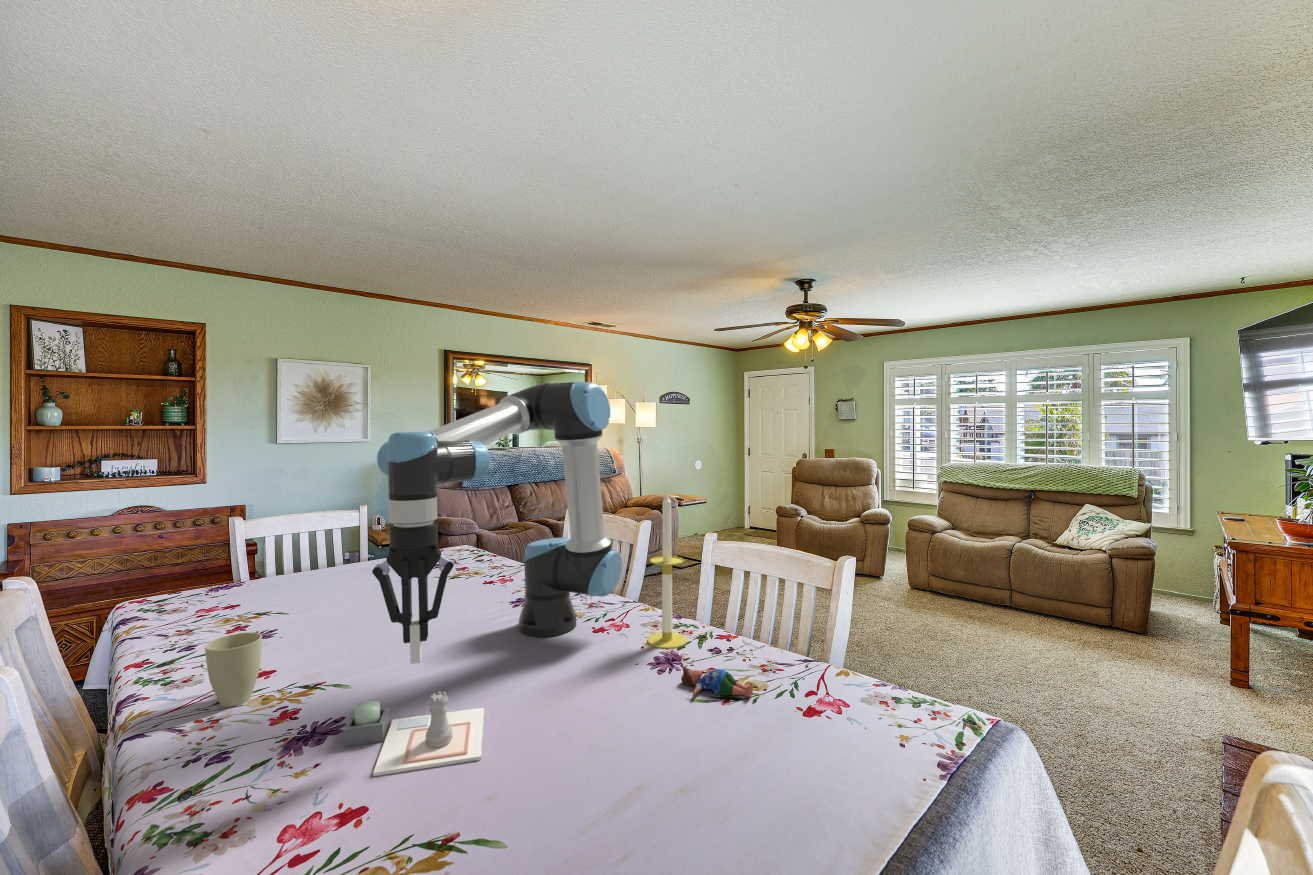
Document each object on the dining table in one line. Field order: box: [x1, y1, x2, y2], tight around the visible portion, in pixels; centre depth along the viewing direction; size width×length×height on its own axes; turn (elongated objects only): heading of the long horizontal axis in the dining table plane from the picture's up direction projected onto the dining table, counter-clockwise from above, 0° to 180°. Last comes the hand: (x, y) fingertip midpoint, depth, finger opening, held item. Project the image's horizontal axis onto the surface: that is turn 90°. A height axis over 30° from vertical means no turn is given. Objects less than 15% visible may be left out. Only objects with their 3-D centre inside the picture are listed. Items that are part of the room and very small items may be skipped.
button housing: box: [343, 706, 391, 747], centre depth 99 cm, size 6×6×3 cm
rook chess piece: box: [425, 691, 453, 748], centre depth 95 cm, size 4×4×8 cm
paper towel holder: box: [646, 492, 688, 650], centre depth 140 cm, size 10×10×38 cm
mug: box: [204, 631, 263, 708], centre depth 112 cm, size 11×10×12 cm
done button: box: [353, 700, 381, 726], centre depth 99 cm, size 4×4×4 cm
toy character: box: [681, 667, 754, 698], centre depth 115 cm, size 12×5×15 cm
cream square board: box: [372, 707, 485, 777], centre depth 97 cm, size 16×16×1 cm
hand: (416, 659), depth 96 cm, fingers closed
